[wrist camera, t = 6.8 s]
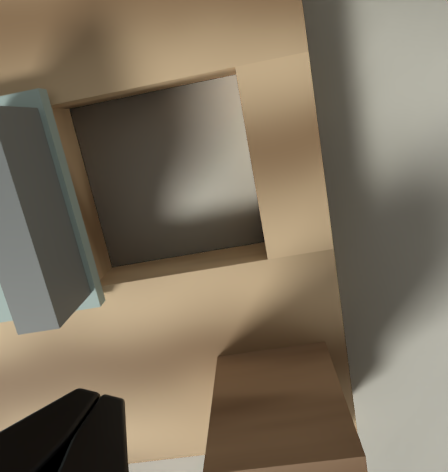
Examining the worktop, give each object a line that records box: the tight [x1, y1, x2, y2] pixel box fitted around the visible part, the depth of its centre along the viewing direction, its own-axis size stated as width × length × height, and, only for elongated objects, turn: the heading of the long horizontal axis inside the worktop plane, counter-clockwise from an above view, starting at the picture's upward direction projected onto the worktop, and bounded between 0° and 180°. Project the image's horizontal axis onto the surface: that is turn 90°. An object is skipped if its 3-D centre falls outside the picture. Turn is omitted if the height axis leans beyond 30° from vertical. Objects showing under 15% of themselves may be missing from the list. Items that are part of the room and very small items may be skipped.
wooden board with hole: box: [0, 0, 357, 464], centre depth 17 cm, size 20×16×2 cm
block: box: [203, 342, 367, 472], centre depth 15 cm, size 4×4×6 cm
